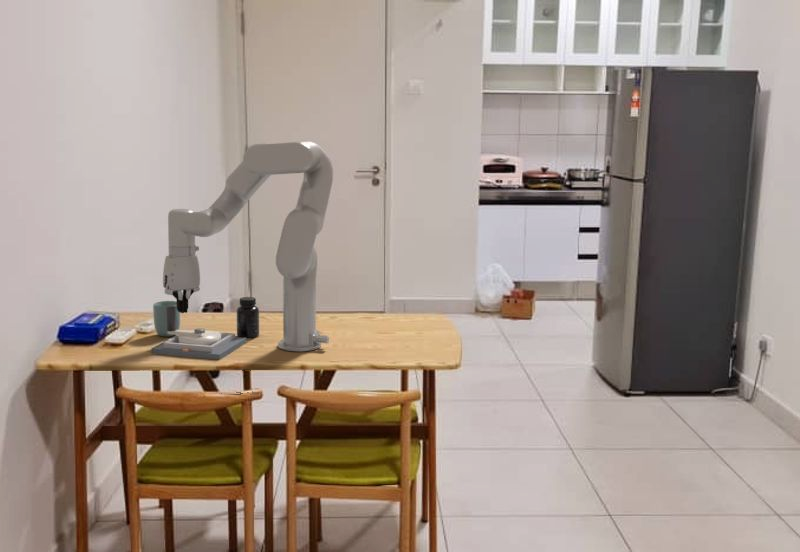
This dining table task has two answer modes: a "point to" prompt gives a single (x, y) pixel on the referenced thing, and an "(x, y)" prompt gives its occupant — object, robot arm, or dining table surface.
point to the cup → (164, 317)
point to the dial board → (200, 347)
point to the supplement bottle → (247, 318)
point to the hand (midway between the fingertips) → (182, 311)
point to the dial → (187, 336)
